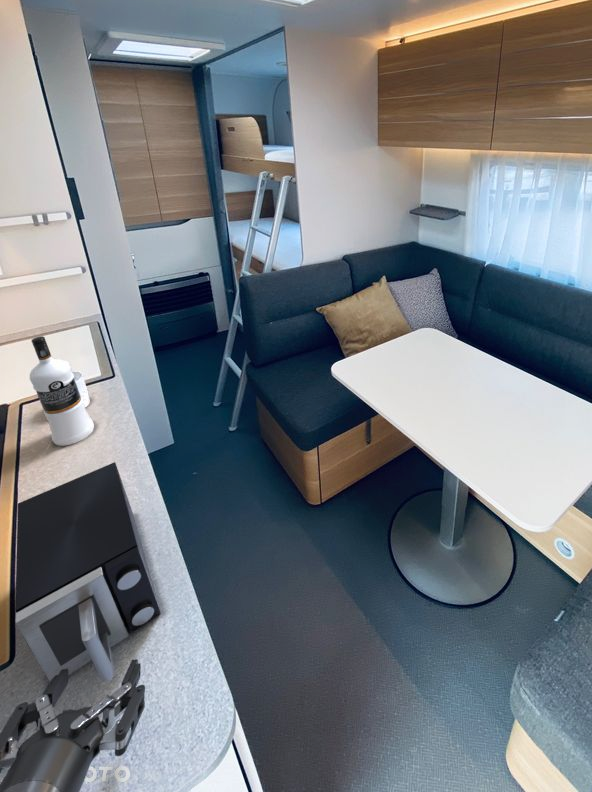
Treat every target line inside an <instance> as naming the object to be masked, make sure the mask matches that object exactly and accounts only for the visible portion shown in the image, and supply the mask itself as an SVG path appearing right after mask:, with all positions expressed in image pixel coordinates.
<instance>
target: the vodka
mask: <svg viewBox="0 0 592 792" xmlns="http://www.w3.org/2000/svg"><path fill="white" fill-rule="evenodd" d="M31 344H32V346H33V348H34V351H35V354H36V357H37V359H38V362H39V363H37V364H36V365H35V366H34V367H33V368H32V369H31V371H30V372H29V381H30V382H31V384H32V387H33V390H34V391H35V392H36V395H37V397H38V399H39V402H40V405H41V407H42V410H43V415H44V416H45V418H46V420H47V422H48V425H49V429H50V433H51V434H50V437H51V441H52V443H54V444H55V445H56V446H62V447H66V446H70V445H74V444H77V443H79V442H81V441H83V440H84V439H86V438H88V437H89V436H90V435H91V434H92V433H93V431H94V429H95V424H94V421H93V419H92V418H91V417H90V416H89V414H88V411H87V409H86V407H84V404H83V399H82V398H81V396H80V393H79V390H78V388H77V385H76V382H75V379H74V374H73V373H72V372H73V370H72V366H71V364H70V363H69V362H68V361H66V360H65V359H59V358H53V356H52V353H51V351H50V348H49V346H48V342H47V341H46V338H45V336H42V335H40V336H36V337H34V338H32V339H31Z"/></svg>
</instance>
